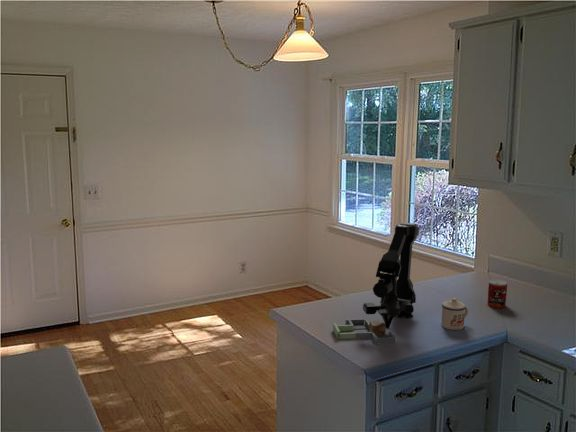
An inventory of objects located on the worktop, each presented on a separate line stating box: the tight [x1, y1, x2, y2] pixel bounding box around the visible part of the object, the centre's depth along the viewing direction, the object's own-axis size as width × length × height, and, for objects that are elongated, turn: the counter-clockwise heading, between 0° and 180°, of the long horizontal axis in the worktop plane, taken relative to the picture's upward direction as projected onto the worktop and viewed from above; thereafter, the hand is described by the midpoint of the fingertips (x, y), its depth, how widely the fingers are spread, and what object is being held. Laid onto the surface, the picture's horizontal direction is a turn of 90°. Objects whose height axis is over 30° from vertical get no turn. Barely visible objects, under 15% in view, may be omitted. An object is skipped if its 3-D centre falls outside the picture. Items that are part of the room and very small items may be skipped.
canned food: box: [487, 279, 508, 309], centre depth 241 cm, size 8×8×11 cm
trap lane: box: [332, 318, 396, 345], centre depth 210 cm, size 21×20×3 cm
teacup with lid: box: [441, 297, 469, 331], centre depth 218 cm, size 12×9×12 cm
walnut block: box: [368, 320, 386, 336], centre depth 211 cm, size 5×5×4 cm
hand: (387, 328), depth 211 cm, fingers closed
